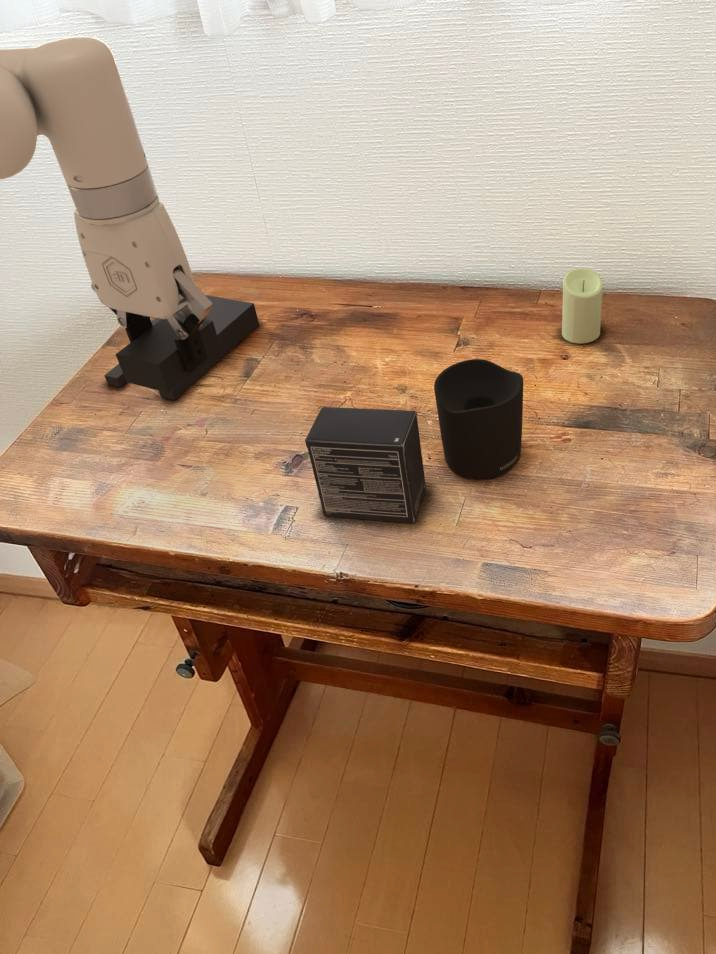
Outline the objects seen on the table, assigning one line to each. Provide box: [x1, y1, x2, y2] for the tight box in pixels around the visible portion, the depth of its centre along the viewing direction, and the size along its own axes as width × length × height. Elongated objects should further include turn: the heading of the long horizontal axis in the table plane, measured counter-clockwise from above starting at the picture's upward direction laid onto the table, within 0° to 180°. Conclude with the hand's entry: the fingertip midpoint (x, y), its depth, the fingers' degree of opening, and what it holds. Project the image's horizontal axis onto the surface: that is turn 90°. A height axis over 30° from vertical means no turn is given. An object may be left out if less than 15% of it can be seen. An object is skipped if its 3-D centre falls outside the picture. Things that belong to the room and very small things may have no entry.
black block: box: [115, 313, 221, 393], centre depth 89 cm, size 9×6×4 cm, turn 152°
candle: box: [561, 267, 604, 345], centre depth 108 cm, size 5×5×8 cm
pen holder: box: [433, 358, 524, 480], centre depth 91 cm, size 9×9×10 cm
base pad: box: [103, 294, 260, 401], centre depth 117 cm, size 20×12×4 cm, turn 153°
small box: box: [304, 406, 427, 524], centre depth 88 cm, size 11×6×10 cm, turn 77°
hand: (172, 358), depth 90 cm, fingers closed on black block, 6 cm apart
